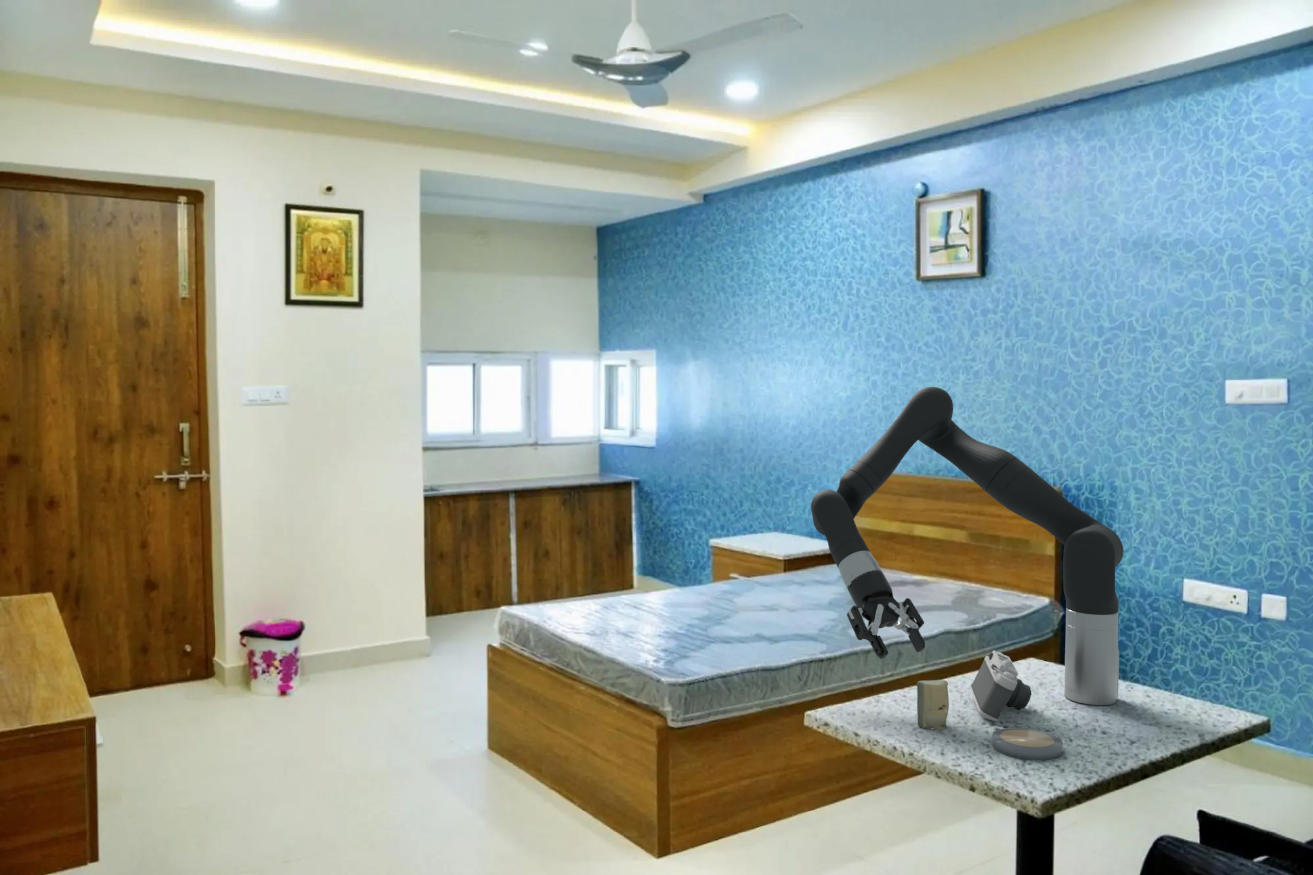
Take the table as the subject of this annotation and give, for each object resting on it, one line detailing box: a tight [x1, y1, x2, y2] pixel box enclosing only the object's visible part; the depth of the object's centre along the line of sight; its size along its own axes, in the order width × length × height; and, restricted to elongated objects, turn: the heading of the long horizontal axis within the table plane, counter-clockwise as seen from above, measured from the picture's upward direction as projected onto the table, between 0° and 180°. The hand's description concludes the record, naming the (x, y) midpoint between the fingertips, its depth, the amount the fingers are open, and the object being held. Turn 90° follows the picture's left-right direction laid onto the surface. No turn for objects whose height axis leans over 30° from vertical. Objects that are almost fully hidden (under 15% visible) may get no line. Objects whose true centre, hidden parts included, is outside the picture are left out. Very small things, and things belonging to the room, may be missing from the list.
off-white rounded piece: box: [916, 679, 950, 730], centre depth 175 cm, size 6×5×8 cm
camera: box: [969, 650, 1032, 722], centre depth 184 cm, size 9×16×10 cm, turn 171°
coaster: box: [991, 727, 1064, 761], centre depth 164 cm, size 11×11×2 cm
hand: (903, 653), depth 183 cm, fingers open, 8 cm apart
